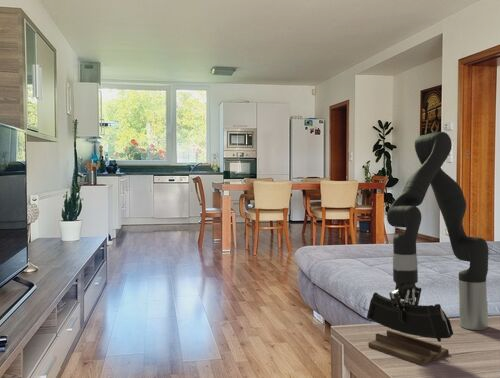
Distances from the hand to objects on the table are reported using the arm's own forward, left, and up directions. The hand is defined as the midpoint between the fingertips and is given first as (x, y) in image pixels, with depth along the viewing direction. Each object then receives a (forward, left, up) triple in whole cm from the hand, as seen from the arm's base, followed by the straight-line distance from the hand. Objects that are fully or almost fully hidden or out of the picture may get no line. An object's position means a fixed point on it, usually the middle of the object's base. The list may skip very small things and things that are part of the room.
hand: (406, 320), depth 148 cm
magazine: (0, 0, -4) cm, 4 cm away
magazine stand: (0, 0, -10) cm, 10 cm away
